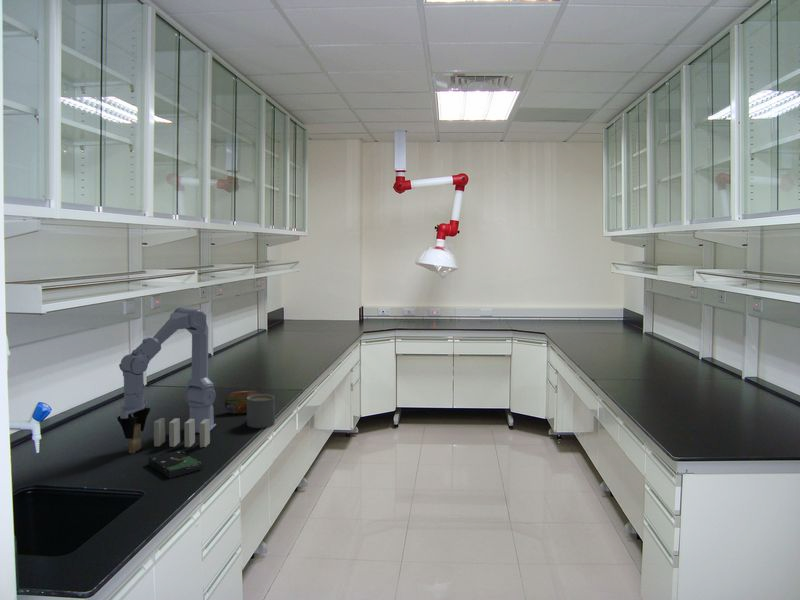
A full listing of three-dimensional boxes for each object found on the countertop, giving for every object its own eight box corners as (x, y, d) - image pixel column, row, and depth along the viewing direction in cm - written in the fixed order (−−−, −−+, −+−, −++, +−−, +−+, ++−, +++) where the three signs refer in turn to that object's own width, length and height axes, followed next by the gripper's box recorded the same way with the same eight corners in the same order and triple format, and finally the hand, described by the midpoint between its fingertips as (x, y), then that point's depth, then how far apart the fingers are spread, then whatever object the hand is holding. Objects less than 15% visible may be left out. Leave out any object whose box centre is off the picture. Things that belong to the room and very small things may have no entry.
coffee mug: (273, 427, 221) (273, 400, 221) (245, 428, 220) (245, 401, 219) (275, 417, 235) (276, 391, 234) (249, 417, 233) (249, 392, 232)
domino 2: (169, 446, 199) (169, 422, 198) (175, 441, 204) (175, 418, 203) (174, 446, 199) (173, 422, 198) (180, 441, 204) (179, 418, 203)
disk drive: (147, 466, 183) (169, 480, 173) (147, 457, 183) (169, 470, 172) (180, 458, 190) (204, 470, 180) (180, 449, 190) (203, 461, 180)
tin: (224, 414, 237) (224, 393, 236) (224, 412, 240) (223, 391, 239) (264, 411, 242) (264, 390, 242) (262, 409, 245) (262, 388, 244)
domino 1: (154, 446, 199) (153, 422, 198) (160, 441, 204) (160, 417, 203) (159, 446, 199) (158, 422, 198) (165, 441, 204) (164, 418, 203)
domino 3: (184, 447, 199) (184, 423, 198) (190, 442, 204) (190, 418, 203) (189, 447, 199) (189, 423, 198) (194, 442, 204) (194, 418, 203)
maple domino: (129, 453, 192) (128, 428, 191) (136, 447, 197) (135, 423, 196) (134, 453, 192) (133, 428, 191) (141, 448, 197) (140, 423, 196)
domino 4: (199, 447, 199) (199, 423, 198) (205, 442, 204) (204, 419, 203) (204, 447, 199) (204, 423, 198) (209, 442, 204) (209, 419, 203)
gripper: (131, 386, 200) (132, 427, 201) (110, 397, 186) (110, 441, 187) (153, 387, 200) (153, 428, 201) (133, 398, 186) (133, 442, 187)
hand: (134, 434), depth 194 cm, fingers open, 7 cm apart
